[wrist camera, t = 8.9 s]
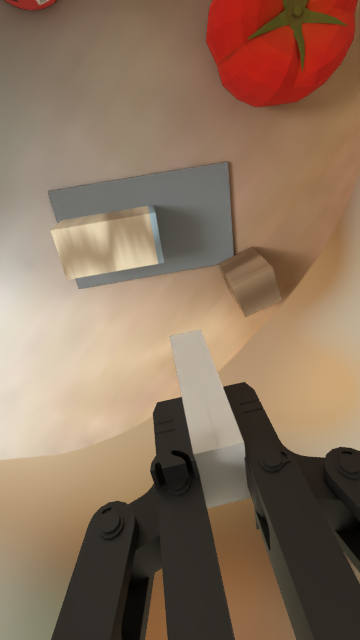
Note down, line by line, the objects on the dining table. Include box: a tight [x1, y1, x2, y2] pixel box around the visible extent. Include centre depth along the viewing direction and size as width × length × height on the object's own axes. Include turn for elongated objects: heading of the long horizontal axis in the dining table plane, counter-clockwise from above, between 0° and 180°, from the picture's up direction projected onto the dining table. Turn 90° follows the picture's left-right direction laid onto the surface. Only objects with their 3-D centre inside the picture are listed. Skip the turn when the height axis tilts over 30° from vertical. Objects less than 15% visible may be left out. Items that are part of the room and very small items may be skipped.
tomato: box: [206, 0, 358, 107], centre depth 26 cm, size 11×12×9 cm
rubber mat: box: [48, 162, 234, 289], centre depth 36 cm, size 11×19×1 cm, turn 98°
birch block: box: [51, 205, 164, 280], centre depth 34 cm, size 5×5×10 cm
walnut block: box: [218, 247, 282, 317], centre depth 38 cm, size 4×4×6 cm
